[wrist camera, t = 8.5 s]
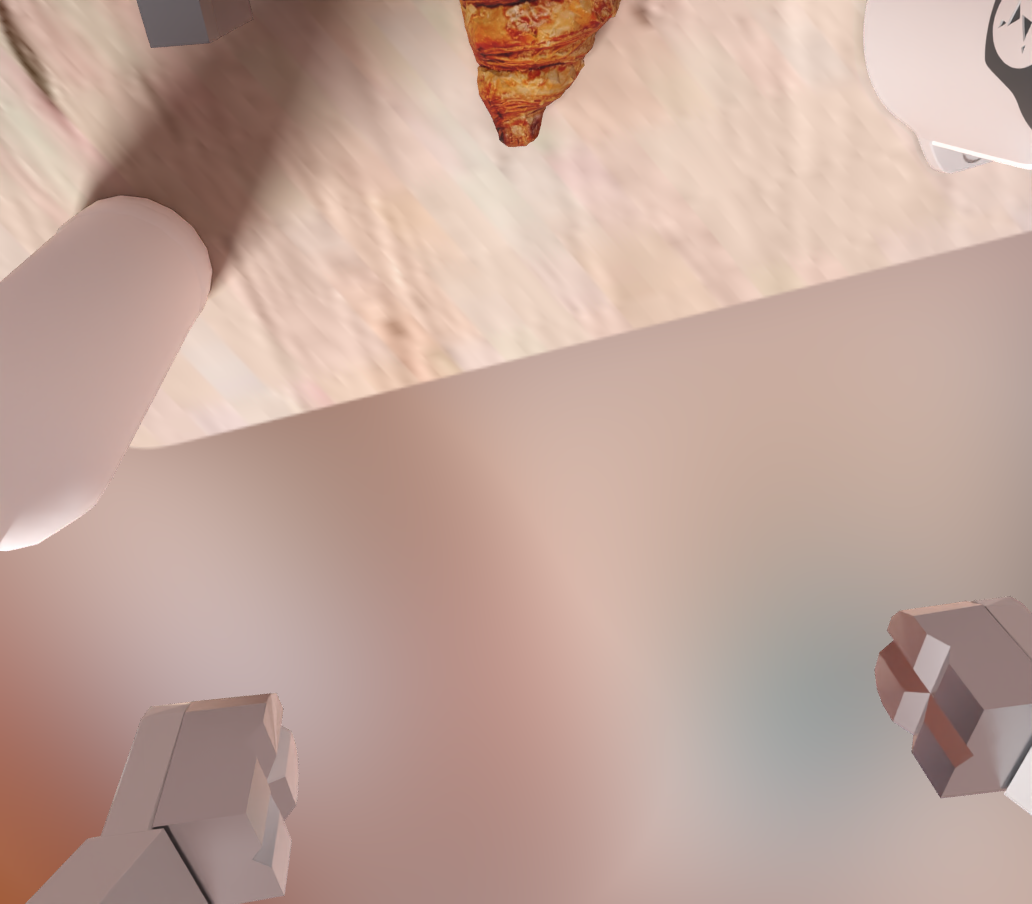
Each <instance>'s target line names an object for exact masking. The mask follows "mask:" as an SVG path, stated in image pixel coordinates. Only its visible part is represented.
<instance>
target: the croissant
mask: <svg viewBox="0 0 1032 904" xmlns="http://www.w3.org/2000/svg"><path fill="white" fill-rule="evenodd" d="M620 1H621V0H460V4H461V9H462V13H463V17H464V23H465V28H466V31H467V34H468V39H469V43H470V45H471V47H472V50H473V53H474V56H475V58H476V61H477V63H478V64H479V65H480V66H479V67H478V78H477V83H478V89H479V95H480V97H481V99H482V101H483V102H484V104H485V106H486V108H487V109H488V111H489V113H490V115H491V117H492V119H493V122H494V124H495V126H496V130H497V132H498V134H499V140H500V141H501V142H502V143H504V144H505V145H507V146H508V147H517V146H527V145H528V144H529V143H530V142H532V141H534V140H535V139H536V138H537V136H538V134H539V130H540V126H541V122H542V116H543V112H544V110H545V109H546V106H547V105H549V104H550V103H552V102H553V101H555V100H556V99H558V98H560V97H561V95H562V94H563V93H564V92H565V90H566V89H568V88H569V87H570V86H571V84H572V83H573V82H574V80H575V79H576V77H577V76H578V74H579V72H580V70H581V69H582V68H583V67H584V60H583V59H584V57H585V55H586V54H587V53H588V52H589V51H590V50H591V49H592V46H593V44H594V41H595V34H596V32H597V31H598V30H599V29H600V28H601V27H602V26H603V25H604V24H605V23H606V22H607V21H608V20H609V19H610V18H611V17H615V15H616V13H617V11H618V8H619V5H620Z"/></svg>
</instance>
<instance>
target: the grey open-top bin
mask: <svg viewBox="0 0 1032 904" xmlns="http://www.w3.org/2000/svg"><path fill="white" fill-rule="evenodd" d="M137 3H138V7H139V10H140V13H141V17H142V20H143V23H144V27H145V30H146V33H147V37H148V40H149V43H150V47H151V48H156V47H168V46H180V45H192V44H204V43H211V42H213V41H214V40H216V39H218V38H220V37H222V36H223V35H225V34H227V33H229V32H231V31H233V30H234V29H236V28H238V27H240V26H242V25H243V24H245V23H247V22H249V21H251V20H253V15H252V11H251V6H250V2H249V0H137Z"/></svg>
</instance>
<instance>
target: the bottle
mask: <svg viewBox="0 0 1032 904" xmlns="http://www.w3.org/2000/svg"><path fill="white" fill-rule="evenodd" d="M211 278H212V267H211V263H210V259H209V255H208V251H207V248H206V246H205V245H204V243H203V242H202V240H201V239H200V237H199V235H198V234H197V232H196V231H195V229H194V228H193V227H192V226H191V225H190V224H189V223H188V222H186V221H185V220H184V219H183V218H182V217H181V216H179V215H178V214H177V213H176V212H175V211H173V210H172V209H170V208H168V207H165V206H163V205H161V204H159V203H156V202H154V201H152V200H150V199H147V198H140V197H131V196H123V195H120V196H115V197H111V198H107V199H102V200H98V201H96V202H94V203H93V204H92V205H90V206H87V207H86V208H84V209H83V210H82V211H80V212H79V213H78V214H76V215H75V216H73V217H72V218H71V219H69V220H68V221H67V222H65V223H64V224H63V225H62V226H61V227H60V228H59V229H58V230H57V232H56V234H55V235H54V236H53V237H52V238H50V239H49V240H48V241H47V242H46V243H45V244H43V245H42V246H41V247H40V248H39V249H38V250H37V251H35V252H34V253H33V254H32V255H31V256H30V257H28V258H27V259H26V260H25V261H24V262H23V263H22V264H20V265H19V266H18V267H17V268H16V269H15V270H13V271H12V272H11V273H10V274H9V275H8V276H7V277H5V278H4V279H3V280H2V281H1V282H0V551H10V550H14V549H18V548H23V547H27V546H32V545H36V544H39V543H40V542H42V541H43V540H45V539H47V538H48V537H50V536H51V535H53V534H54V533H56V532H58V531H59V530H61V529H62V528H64V527H65V526H67V525H69V524H70V523H71V522H73V521H75V520H76V519H78V518H79V517H81V516H82V515H83V514H85V513H86V512H87V511H89V510H90V509H91V508H92V507H94V506H95V505H96V503H97V502H98V500H99V499H100V497H101V496H102V494H103V492H104V491H105V489H106V488H107V486H108V485H109V483H110V481H111V480H112V478H113V476H114V474H115V472H116V470H117V468H118V466H119V464H120V462H121V460H122V459H123V457H124V455H125V453H126V451H127V449H128V447H129V445H130V443H131V441H132V439H133V438H134V436H135V434H136V432H137V430H138V428H139V426H140V424H141V422H142V420H143V418H144V416H145V415H146V413H147V411H148V409H149V407H150V405H151V403H152V401H153V399H154V397H155V395H156V394H157V392H158V390H159V388H160V386H161V384H162V382H163V380H164V378H165V376H166V374H167V372H168V371H169V369H170V367H171V365H172V363H173V361H174V359H175V357H176V355H177V353H178V351H179V349H180V348H181V346H182V344H183V342H184V340H185V338H186V336H187V334H188V332H189V330H190V329H191V327H192V326H193V324H194V322H195V321H196V319H197V318H198V316H199V314H200V313H201V311H202V310H203V308H204V306H205V304H206V301H207V296H208V294H209V292H210V286H211Z"/></svg>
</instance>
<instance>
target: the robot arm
mask: <svg viewBox="0 0 1032 904" xmlns="http://www.w3.org/2000/svg"><path fill="white" fill-rule="evenodd" d="M863 41H864V55H865V61H866V67H867V71H868V74H869V77H870V80H871V83H872V86H873V88H874V90H875V92H876V94H877V96H878V97H879V99H880V100H881V102H882V103H883V105H884V106H885V107H886V108H887V109H888V111H889V112H890V113H891V114H892V115H893V116H895V117H896V118H897V119H898V120H900V121H901V122H902V123H904V124H905V125H906V126H908V127H909V128H910V129H911V130H912V131H913V132H914V133H915V134H916V136H917V137H918V140H919V143H920V146H921V148H922V151H923V154H924V156H925V158H926V160H927V162H928V164H929V165H930V166H931V168H933V169H934V170H936V171H940V172H944V173H956V172H960V171H963V170H966V169H970V168H973V167H976V166H979V165H983V164H986V163H989V162H993V161H996V162H1000V163H1003V164H1007V165H1011V166H1015V167H1019V168H1023V169H1030V170H1032V0H867V4H866V10H865V18H864V33H863ZM887 631H888V633H889V634H890V636H891V637H892V639H893V641H892V642H891V643H890V644H889V645H887V646H886V647H885V648H884V649H883V650H882V651H880V652H879V655H878V659H877V662H876V666H875V669H874V671H875V679H876V686H877V691H878V694H879V696H880V699H881V702H882V704H883V706H884V708H885V709H886V711H887V713H888V715H889V716H890V718H891V720H892V721H893V722H894V723H895V724H897V725H898V726H900V727H901V728H903V729H904V730H906V731H908V732H909V733H911V734H912V735H913V742H912V754H913V755H914V757H915V758H916V760H917V761H918V763H919V765H920V766H921V768H922V769H923V771H924V773H925V774H926V776H927V778H928V779H929V781H930V782H931V784H932V785H933V787H934V788H935V790H936V792H937V793H938V795H939V796H940V798H947V797H955V796H964V795H972V794H981V793H989V792H998V791H1006V792H1005V793H1004V794H1005V795H1006V796H1007V797H1008V798H1010V799H1011V800H1012V801H1013V802H1015V803H1016V804H1017V805H1019V806H1020V807H1021V808H1023V809H1024V810H1025V811H1026V812H1028V813H1029V814H1030V815H1032V613H1031V612H1030V611H1029V610H1028V609H1027V607H1026V606H1025V605H1024V604H1023V603H1021V602H1020V601H1018V600H1016V599H1014V598H1012V597H1011V596H1007V597H999V598H992V599H984V600H976V601H971V602H968V601H962V602H955V603H949V604H942V605H935V606H928V607H921V608H915V609H907V610H901V611H898V612H897V613H896V614H895V615H893V616H892V617H891V620H890V623H889V625H888V628H887ZM282 716H283V707H282V704H281V702H280V700H279V697H278V695H277V693H270V694H260V695H252V696H241V697H231V698H222V699H212V700H202V701H193V702H185V703H176V704H168V705H159V706H151V707H150V708H149V709H148V711H147V712H146V713H145V715H144V716H143V717H142V719H141V720H140V723H139V726H138V729H137V732H136V735H135V738H134V741H133V744H132V747H131V749H130V752H129V755H128V758H127V761H126V764H125V767H124V770H123V773H122V776H121V779H120V782H119V784H118V787H117V790H116V793H115V796H114V799H113V802H112V805H111V808H110V811H109V814H108V816H107V819H106V822H105V826H104V828H103V831H102V834H101V836H100V837H94V838H89V839H87V840H86V841H85V842H84V843H83V844H82V845H81V846H80V847H79V848H78V849H77V850H76V851H75V852H74V853H73V854H72V855H71V857H70V858H69V859H68V860H67V861H66V862H65V863H64V864H63V865H62V866H61V867H60V868H59V869H58V870H57V871H56V872H55V873H54V874H53V875H52V876H51V878H50V879H49V880H48V881H47V882H46V883H45V884H44V885H43V886H42V887H41V888H40V889H39V890H38V891H37V892H36V893H35V894H34V895H33V896H32V897H31V898H30V899H29V900H28V902H27V903H26V904H240V903H246V902H251V901H257V900H262V899H268V898H273V897H279V896H284V895H285V887H286V880H287V872H288V865H289V858H290V850H291V842H292V840H291V838H290V835H289V833H288V830H287V828H286V825H285V823H284V821H285V819H286V818H287V817H288V815H289V814H290V813H291V812H292V810H293V809H294V808H295V806H296V803H297V793H298V785H299V772H298V755H297V749H296V743H295V740H294V737H293V734H292V732H291V731H290V730H289V729H287V728H285V727H283V726H282V725H281V723H282Z"/></svg>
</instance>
